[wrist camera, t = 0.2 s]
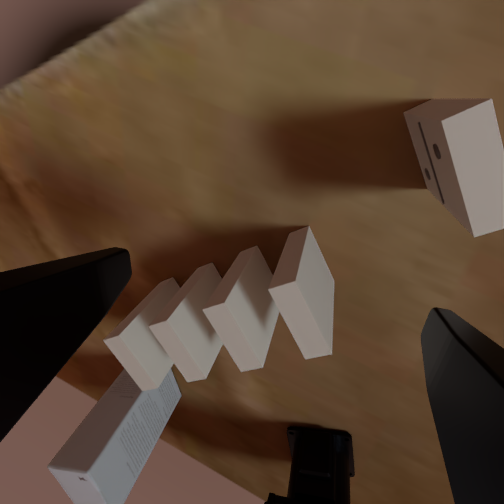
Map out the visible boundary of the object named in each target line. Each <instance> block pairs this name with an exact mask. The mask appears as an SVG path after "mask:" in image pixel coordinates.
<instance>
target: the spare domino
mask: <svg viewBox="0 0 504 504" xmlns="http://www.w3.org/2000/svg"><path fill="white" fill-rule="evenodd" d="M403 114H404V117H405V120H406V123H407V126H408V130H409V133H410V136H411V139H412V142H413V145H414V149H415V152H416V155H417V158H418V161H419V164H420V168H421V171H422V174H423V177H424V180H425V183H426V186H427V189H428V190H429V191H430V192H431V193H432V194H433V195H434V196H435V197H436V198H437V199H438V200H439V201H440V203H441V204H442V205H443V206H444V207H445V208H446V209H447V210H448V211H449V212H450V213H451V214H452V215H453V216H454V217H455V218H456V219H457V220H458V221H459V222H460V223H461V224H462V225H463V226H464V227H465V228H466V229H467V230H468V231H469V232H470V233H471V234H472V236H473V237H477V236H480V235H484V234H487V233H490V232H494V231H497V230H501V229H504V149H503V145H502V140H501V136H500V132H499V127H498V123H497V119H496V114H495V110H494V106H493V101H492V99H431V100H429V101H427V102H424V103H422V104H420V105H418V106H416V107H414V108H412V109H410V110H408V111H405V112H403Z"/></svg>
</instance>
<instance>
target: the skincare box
mask: <svg viewBox="0 0 504 504" xmlns="http://www.w3.org/2000/svg"><path fill="white" fill-rule="evenodd" d="M180 398H181V393H180V390H179V388H178V385H177V383H176V380H175V378H174V375H173V373H172V370H171V368H170V370H169V372H168V373H167V375H166V376H165V378H164V380H163V381H162V383H161V384H160V386H159V388H156V389H151V390H146V391H142V390H141V389H140V388H139V386H138V385H137V384H136V382H135V381H134V380H133V379H132V377H131V376H130V375H129V373H128V372H127V371H126V369H125V368H124V369H123V371H122V372H121V373H120V375H119V376H118V377H117V378H116V380H115V381H114V382H113V383H112V385H111V386H110V387H109V388H108V390H107V391H106V392H105V393H104V395H103V396H102V397H101V399H100V400H99V401H98V402H97V404H96V405H95V406H94V408H93V409H92V410H91V411H90V413H89V414H88V415H87V416H86V418H85V419H84V420H83V421H82V423H81V424H80V425H79V426H78V428H77V429H76V430H75V432H74V433H73V434H72V435H71V437H70V438H69V439H68V440H67V442H66V443H65V444H64V445H63V447H62V448H61V449H60V451H59V452H58V453H57V454H56V456H55V457H54V458H53V459H52V461H51V462H50V463H49V465H48V466H47V467H48V469H49V470H50V472H51V473H52V474H53V475H54V477H55V478H56V479H57V480H58V482H59V483H60V485H61V486H62V488H63V489H64V490H65V492H66V493H67V495H68V496H69V497H70V499H71V500H72V501H73V503H74V504H124V502H125V500H126V499H127V497H128V495H129V493H130V491H131V489H132V487H133V485H134V483H135V482H136V480H137V478H138V476H139V474H140V472H141V470H142V469H143V467H144V465H145V463H146V461H147V459H148V457H149V456H150V453H151V452H152V450H153V448H154V446H155V444H156V442H157V441H158V439H159V437H160V435H161V433H162V431H163V429H164V427H165V426H166V424H167V422H168V420H169V418H170V416H171V414H172V413H173V411H174V409H175V407H176V405H177V403H178V401H179V400H180Z"/></svg>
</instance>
